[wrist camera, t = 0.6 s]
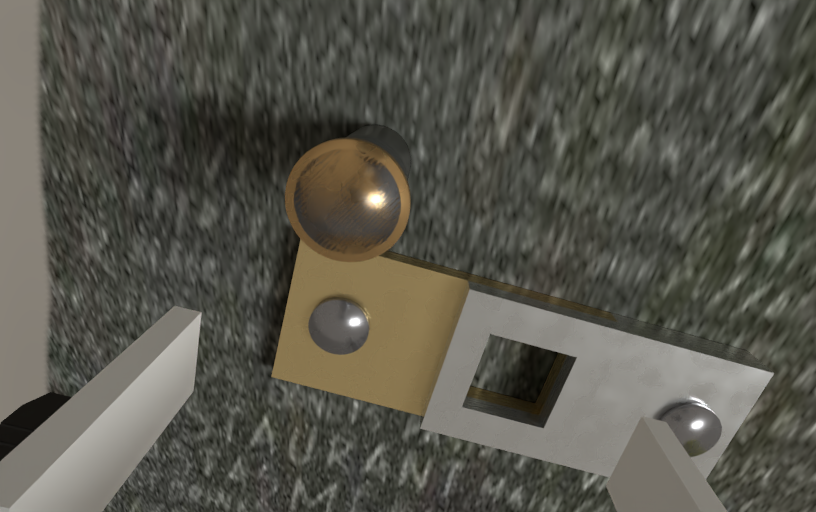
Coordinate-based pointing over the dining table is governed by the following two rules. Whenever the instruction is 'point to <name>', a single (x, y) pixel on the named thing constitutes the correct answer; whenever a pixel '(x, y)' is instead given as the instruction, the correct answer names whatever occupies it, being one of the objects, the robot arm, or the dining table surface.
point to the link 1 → (383, 328)
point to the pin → (351, 194)
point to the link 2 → (592, 384)
